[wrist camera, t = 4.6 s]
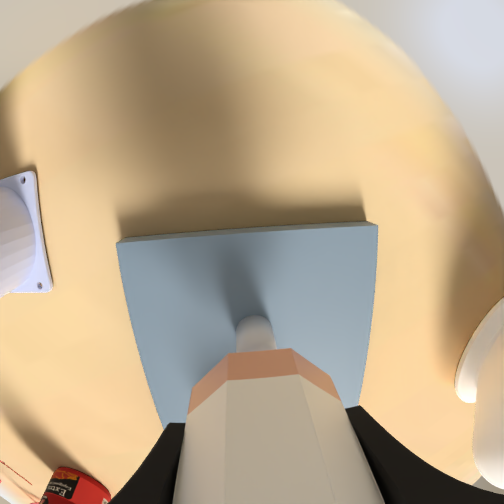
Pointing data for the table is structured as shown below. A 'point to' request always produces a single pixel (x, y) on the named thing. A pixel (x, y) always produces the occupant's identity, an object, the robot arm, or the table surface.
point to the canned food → (74, 489)
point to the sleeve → (270, 437)
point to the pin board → (249, 302)
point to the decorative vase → (486, 393)
